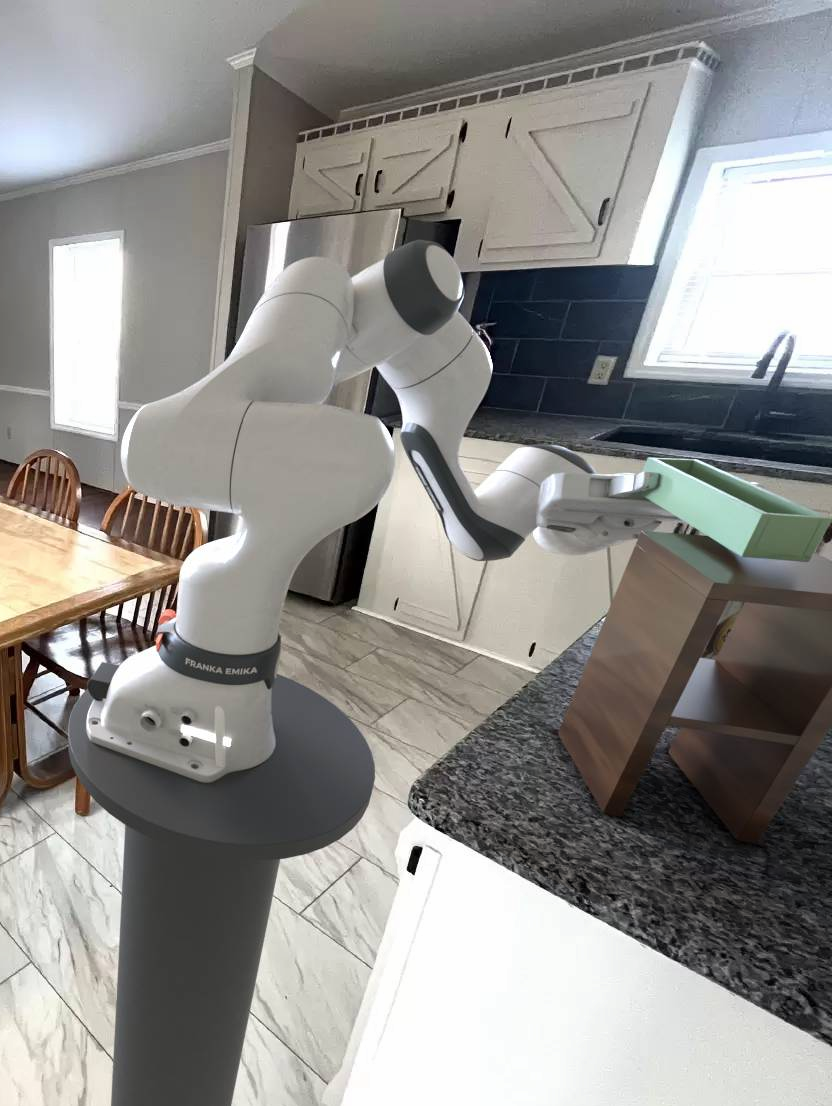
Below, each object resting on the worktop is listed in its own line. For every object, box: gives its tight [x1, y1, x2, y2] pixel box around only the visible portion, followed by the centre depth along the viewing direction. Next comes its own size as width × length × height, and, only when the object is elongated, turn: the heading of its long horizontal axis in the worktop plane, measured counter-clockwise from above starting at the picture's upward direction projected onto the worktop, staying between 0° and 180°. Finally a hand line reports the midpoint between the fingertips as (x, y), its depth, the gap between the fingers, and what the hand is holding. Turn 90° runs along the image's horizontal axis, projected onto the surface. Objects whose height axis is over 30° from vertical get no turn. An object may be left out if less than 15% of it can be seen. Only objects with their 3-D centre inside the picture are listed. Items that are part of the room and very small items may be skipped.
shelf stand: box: [557, 531, 832, 844], centre depth 63 cm, size 12×14×26 cm
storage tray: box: [638, 457, 832, 562], centre depth 64 cm, size 4×22×4 cm, turn 159°
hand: (685, 480), depth 69 cm, fingers closed on storage tray, 4 cm apart
